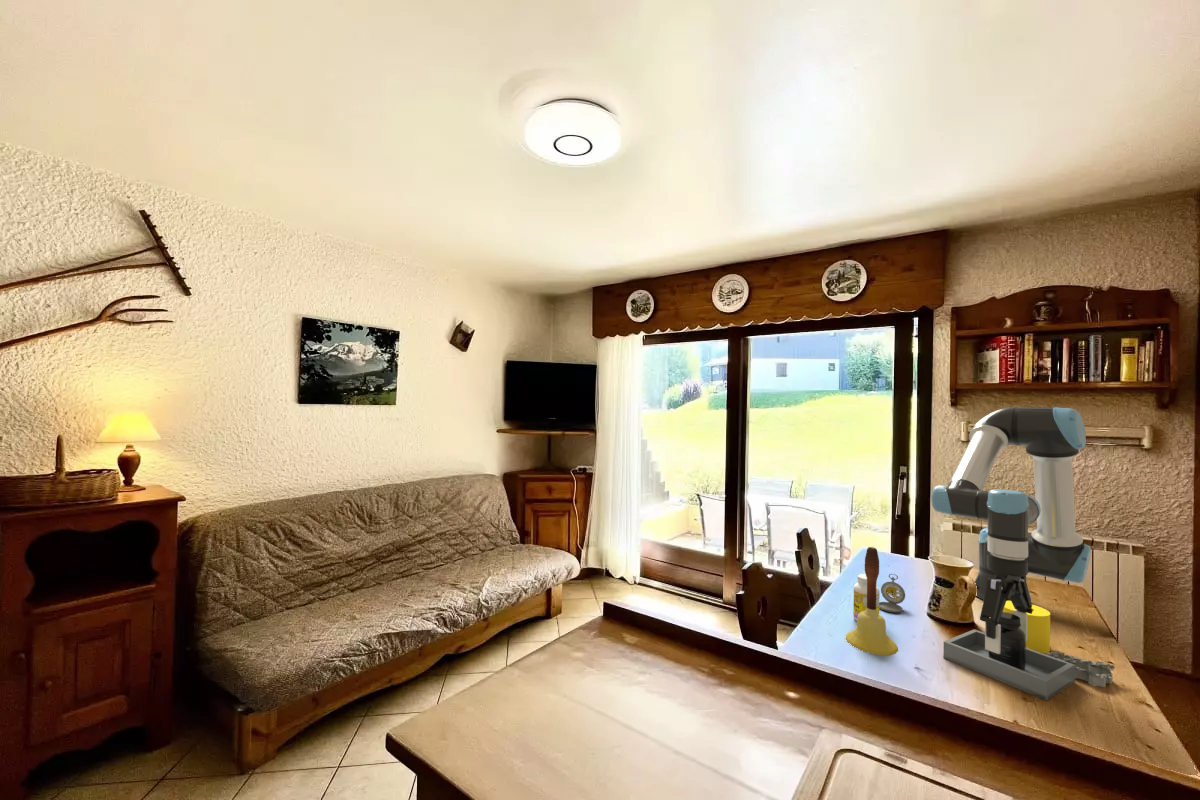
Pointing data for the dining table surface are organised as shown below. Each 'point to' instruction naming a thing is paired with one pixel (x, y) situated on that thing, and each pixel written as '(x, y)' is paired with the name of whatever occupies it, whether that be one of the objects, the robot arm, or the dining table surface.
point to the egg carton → (1088, 669)
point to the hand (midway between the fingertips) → (1006, 644)
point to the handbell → (871, 616)
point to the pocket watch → (892, 602)
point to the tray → (1037, 679)
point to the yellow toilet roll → (1035, 627)
